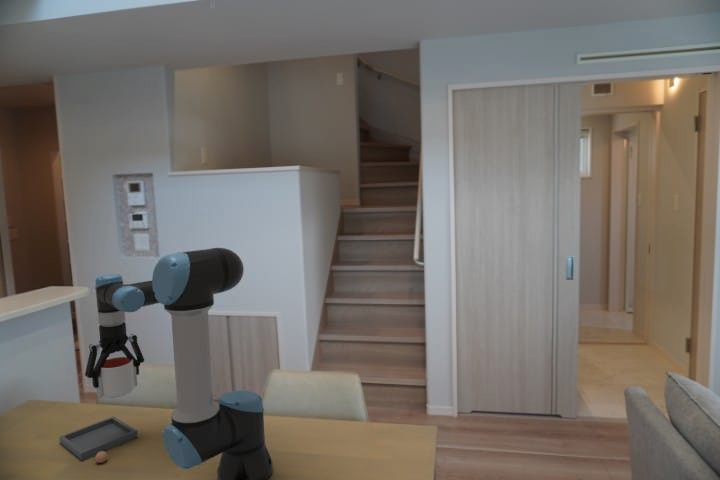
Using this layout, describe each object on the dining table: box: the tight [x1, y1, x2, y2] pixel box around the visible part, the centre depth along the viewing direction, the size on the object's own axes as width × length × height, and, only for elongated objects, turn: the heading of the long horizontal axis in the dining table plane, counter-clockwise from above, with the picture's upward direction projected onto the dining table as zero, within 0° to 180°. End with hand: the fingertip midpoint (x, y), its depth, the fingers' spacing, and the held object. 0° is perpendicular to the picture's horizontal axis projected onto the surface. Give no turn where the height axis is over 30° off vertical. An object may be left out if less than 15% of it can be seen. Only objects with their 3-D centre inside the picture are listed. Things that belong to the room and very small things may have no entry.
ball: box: [94, 451, 108, 464], centre depth 143 cm, size 3×3×3 cm
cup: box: [99, 356, 136, 399], centre depth 154 cm, size 10×10×10 cm
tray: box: [58, 416, 138, 462], centre depth 156 cm, size 17×17×2 cm
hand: (117, 390), depth 154 cm, fingers closed on cup, 10 cm apart
